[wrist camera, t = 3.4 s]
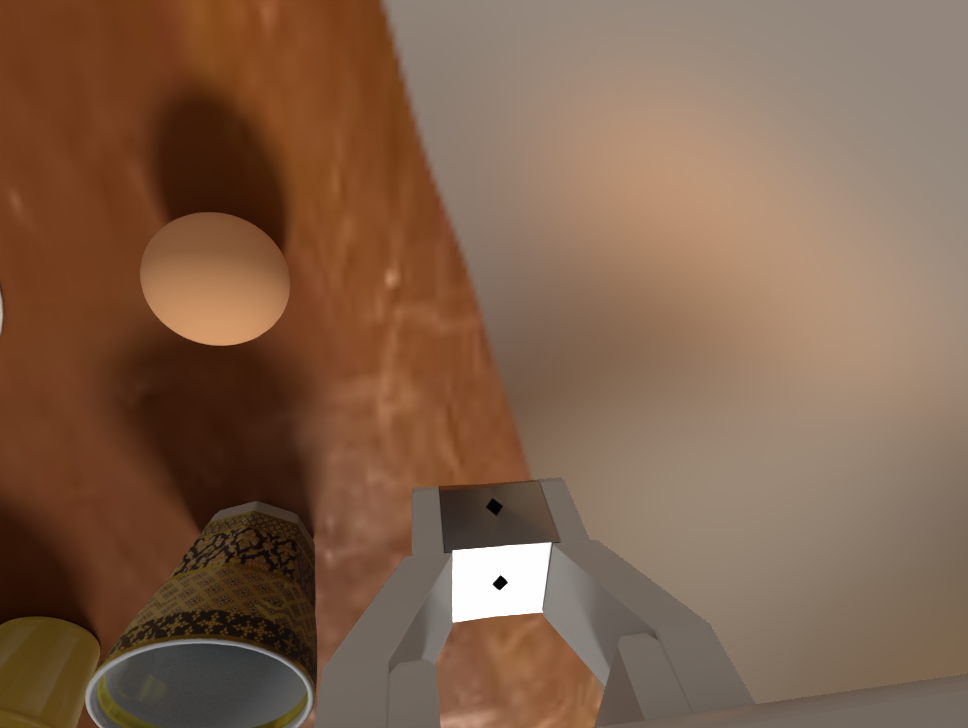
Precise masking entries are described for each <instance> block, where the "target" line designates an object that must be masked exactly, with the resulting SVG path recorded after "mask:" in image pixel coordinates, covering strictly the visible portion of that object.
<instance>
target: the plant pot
mask: <svg viewBox="0 0 968 728" xmlns="http://www.w3.org/2000/svg"><path fill="white" fill-rule="evenodd" d="M99 657H100V645H99V643H98V641H97V639H96V638H95V637H94V636H93V635H92V634H91V633H90V632H89V631H87V630H86V629H84V628H82V627H81V626H79V625H77V624H74V623H72V622H69V621H66V620H62V619H58V618H52V617H41V616H32V617H22V618H17V619H13V620H10V621H7V622H5V623H3V624H1V625H0V728H76V727H77V724H78V720H79V717H80V714H81V711H82V708H83V705H84V702H85V694H86V688H87V685H88V683H89V681H90V679H91V677H92V676H93V674H94V672H95V669H96V666H97V663H98V660H99Z"/></svg>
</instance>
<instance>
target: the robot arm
mask: <svg viewBox="0 0 968 728" xmlns="http://www.w3.org/2000/svg"><path fill="white" fill-rule="evenodd" d="M411 498H412V556H409V557H404V558H403V559H402V561H401V562H400V563H399V565H398V566H397V568H396V569H395V570H394V572H393V573H392V574H391V576H390V577H389V579H388V580H387V581H386V583H385V584H384V585H383V587H382V588H381V590H380V591H379V592H378V594H377V595H376V596H375V598H374V599H373V601H372V602H371V603H370V605H369V606H368V607H367V609H366V610H365V612H364V613H363V614H362V616H361V617H360V618H359V620H358V621H357V623H356V624H355V625H354V627H353V628H352V629H351V631H350V632H349V634H348V635H347V636H346V638H345V639H344V640H343V642H342V643H341V645H340V646H339V647H338V649H337V650H336V651H335V653H334V654H333V656H332V657H331V658H330V660H329V661H328V662H327V664H326V665H325V667H324V668H323V672H322V678H321V685H320V692H319V698H318V705H317V711H316V718H315V725H314V728H441V727H440V711H439V695H438V680H437V667H436V666H435V663H436V660H437V658H438V656H439V654H440V652H441V650H442V648H443V645H444V643H445V641H446V639H447V637H448V635H449V633H450V630H451V628H452V626H453V622H456V621H463V620H470V619H478V618H485V617H492V616H501V615H513V614H525V613H538V612H543V616H544V617H545V618H546V619H547V620H548V621H549V622H550V624H551V625H552V626H553V627H554V628H555V629H556V630H557V632H558V633H559V634H560V635H561V636H562V637H563V639H564V640H565V641H566V642H567V643H568V644H569V645H570V647H571V648H572V649H573V650H574V651H575V652H576V654H577V655H578V656H579V657H580V658H581V659H582V660H583V662H584V663H585V664H586V665H587V666H588V667H589V668H590V670H591V671H592V672H593V673H594V674H595V675H596V677H597V678H598V679H599V680H600V681H601V682H602V683H603V685H604V686H605V691H604V695H603V698H602V702H601V705H600V709H599V713H598V716H597V720H596V723H595V727H594V728H968V673H967V674H960V675H953V676H946V677H939V678H933V679H926V680H919V681H912V682H905V683H898V684H891V685H884V686H878V687H871V688H864V689H857V690H850V691H843V692H837V693H829V694H822V695H816V696H809V697H802V698H795V699H788V700H781V701H774V702H768V703H761V704H755V702H754V700H753V698H752V697H751V695H750V693H749V691H748V689H747V688H746V687H745V684H744V683H743V681H742V679H741V677H740V676H739V674H738V672H737V670H736V669H735V667H734V665H733V663H732V662H731V660H730V658H729V657H728V655H727V653H726V651H725V650H724V648H723V646H722V645H721V643H720V641H719V639H718V637H717V636H716V634H715V632H714V630H713V629H712V627H711V625H710V624H709V623H708V622H706V621H705V620H704V619H703V618H701V617H700V616H698V615H697V614H696V613H694V612H693V611H692V610H691V609H689V608H688V607H686V606H685V605H684V604H683V603H681V602H680V601H678V600H677V599H676V598H675V597H673V596H672V595H670V594H669V593H668V592H667V591H665V590H664V589H662V588H661V587H660V586H658V585H657V584H656V583H654V582H653V581H651V579H649V578H648V577H647V576H645V575H644V574H643V573H641V572H640V571H639V570H637V569H636V568H634V567H633V566H632V565H631V564H629V563H628V562H627V561H625V560H624V559H623V558H621V557H620V556H619V555H617V554H616V553H614V552H613V551H612V550H610V549H609V548H608V547H606V546H605V545H604V544H602V543H601V542H600V541H599V540H590V539H589V537H588V535H587V532H586V530H585V528H584V525H583V523H582V520H581V518H580V516H579V513H578V511H577V509H576V507H575V504H574V501H573V499H572V497H571V494H570V492H569V490H568V487H567V485H566V482H565V481H564V480H563V479H562V478H561V477H559V478H547V479H537V480H526V481H514V482H501V483H489V484H471V485H450V486H439V489H438V487H419V488H412V493H411Z"/></svg>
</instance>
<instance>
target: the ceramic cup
mask: <svg viewBox="0 0 968 728" xmlns="http://www.w3.org/2000/svg"><path fill="white" fill-rule="evenodd" d="M316 683H317V630H316V620H315V545H314V542H313V540H312V538H311V536H310V534H309V533H308V531H307V529H306V527H305V526H304V524H303V522H302V521H301V519H300V517H299V516H298V514H296V513H294V512H291V511H288V510H284V509H281V508H278V507H275V506H272V505H269V504H265V503H262V502H259V501H254V502H250V503H246V504H242V505H239V506H235V507H231V508H227V509H223V510H220V511H219V512H218V513H216V514H215V515H214V516H213V518H212V519H211V520H210V522H209V523H208V524H207V525H206V527H205V528H204V530H203V531H202V533H201V534H200V535H199V537H198V538H197V540H196V541H195V542H194V544H193V545H192V546H191V548H190V549H189V550H188V552H187V553H186V554H185V556H184V557H183V558H182V560H181V561H180V562H179V564H178V565H177V566H176V568H175V569H174V571H173V572H172V573H171V575H170V576H169V577H168V579H167V580H166V582H165V583H164V584H163V585H162V586H161V587H160V588H159V589H158V591H157V592H156V593H155V594H154V595H153V596H152V597H151V598H150V600H149V601H148V602H147V603H146V604H145V606H144V607H143V608H142V609H141V610H140V612H139V613H138V614H137V615H136V617H135V618H134V619H133V620H132V622H131V623H130V624H129V626H128V627H127V628H126V630H125V631H124V632H123V634H122V635H121V636H120V638H119V639H118V640H117V642H116V643H115V644H114V646H113V647H112V649H111V650H110V651H109V653H108V654H107V656H106V657H105V659H104V660H103V661H102V663H101V664H100V666H99V667H98V669H97V670H96V671H95V673H94V674H93V676H92V677H91V679H90V681H89V683H88V685H87V688H86V694H85V702H86V707H87V710H88V712H89V714H90V716H91V718H92V719H93V720H94V722H95V723H96V724H97V725H98V726H99V727H100V728H298V727H299V726H300V725H301V724H302V723H303V722H304V721H305V720H306V719H307V717H308V716H309V715H310V713H311V711H312V708H313V706H314V703H315V697H316Z"/></svg>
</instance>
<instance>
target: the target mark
mask: <svg viewBox="0 0 968 728" xmlns="http://www.w3.org/2000/svg"><path fill="white" fill-rule="evenodd" d="M3 320H4V305H3V296H2V292H1V287H0V335H1V332H2V328H3Z"/></svg>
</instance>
